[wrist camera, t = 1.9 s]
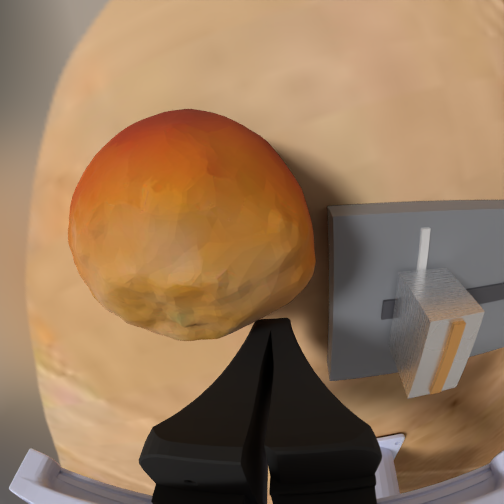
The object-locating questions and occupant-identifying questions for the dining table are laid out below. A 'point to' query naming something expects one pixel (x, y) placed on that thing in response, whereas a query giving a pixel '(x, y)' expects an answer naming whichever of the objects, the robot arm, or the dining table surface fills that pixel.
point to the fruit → (190, 226)
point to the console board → (403, 260)
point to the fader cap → (432, 330)
